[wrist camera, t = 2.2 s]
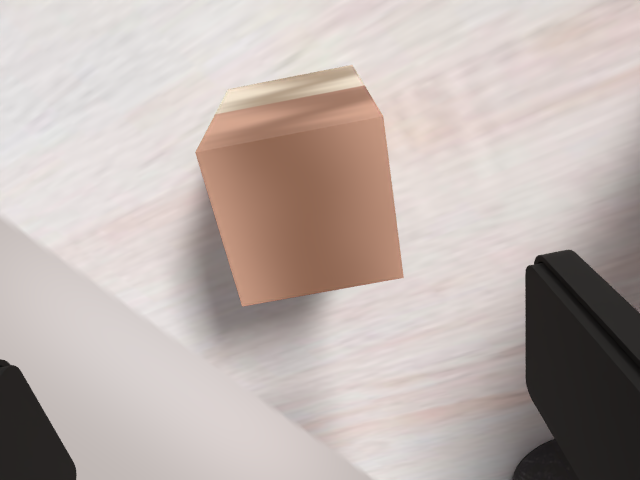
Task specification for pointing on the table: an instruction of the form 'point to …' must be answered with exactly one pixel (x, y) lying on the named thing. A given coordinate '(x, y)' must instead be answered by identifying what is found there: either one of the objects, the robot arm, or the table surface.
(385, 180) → the brick stack
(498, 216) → the table surface
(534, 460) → the travel mug
